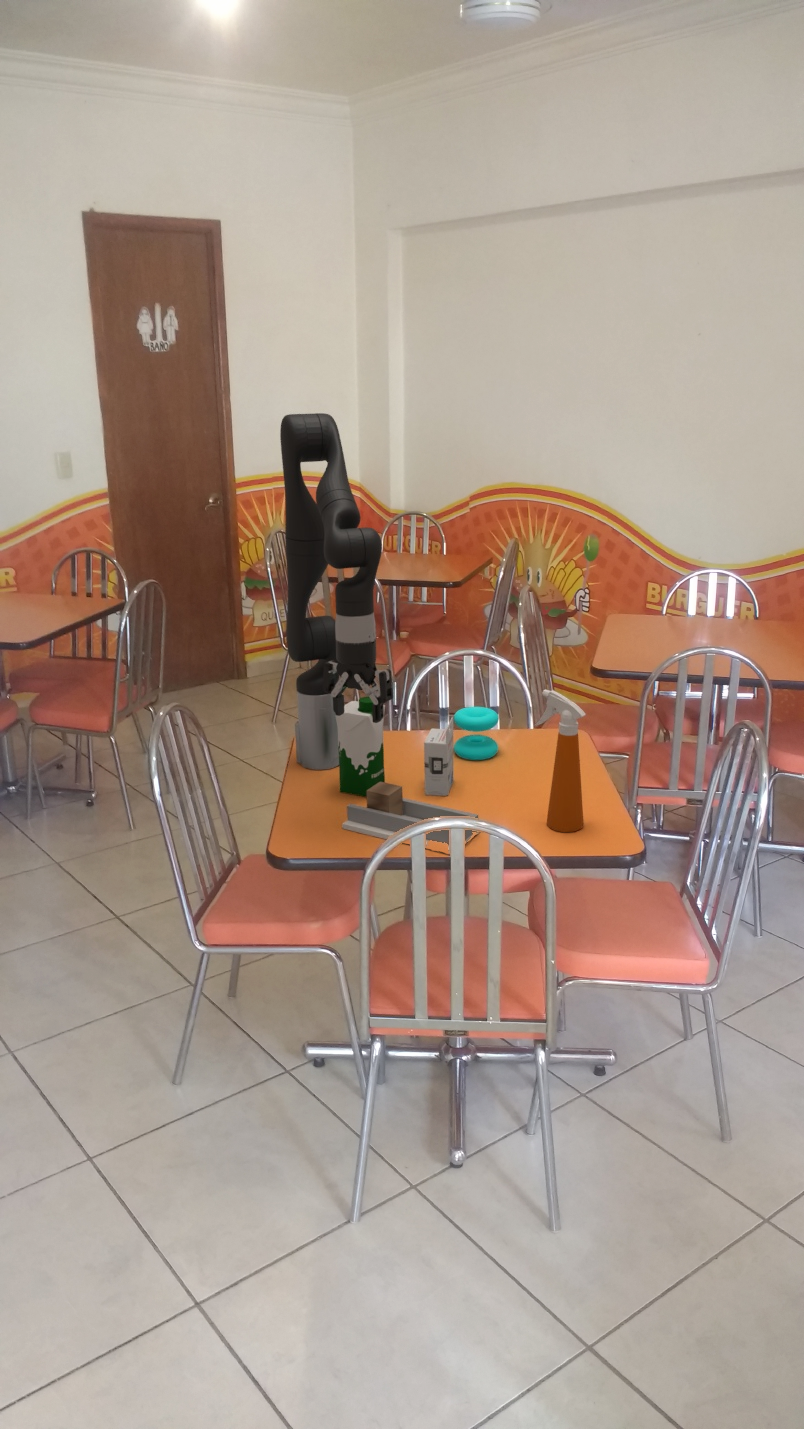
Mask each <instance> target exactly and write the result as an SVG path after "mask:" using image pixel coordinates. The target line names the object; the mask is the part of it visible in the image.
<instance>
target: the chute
mask: <svg viewBox="0 0 804 1429" xmlns="http://www.w3.org/2000/svg"><path fill="white" fill-rule="evenodd" d="M346 815H347V816H346V818H347V820H346V821H344V822H342V823H341V824H342V829H344V830H347V831H350V832H355V833H360V834H363V835H367V836H371V837H375V838H378V839H379V838H380V839H384V840H387V838H388V837H389V836H391V835H393V834H394V833H395V832H397V831H399V830H400V829H403V828H405V827H407V826H409V825H412V824H414V823H417V822H419V821H422V820H424V819H428V818H433V817H440V816H470V817H475V818H478V819H479V814H478V813H477V814H476V813H471V812H468V811H465V810H464V811H463V810H459V809H454V808H449V807H445V806H441V805H436V804H431V803H427V802H423V801H418V800H413V799H410V798H405V797H403V815H402V816H401V815H396V814H392V813H388V812H383V811H379V810H375V809H371V808H367V806H366V807H365V806H362V805H357V804H352V803H349V804H348V805H346ZM472 832H476V833H479V832H477V831H472V830H465V841H466V843H467V841H468V840H469V839H470V838H471V836H472V835H473V833H472ZM479 834H480V833H479ZM430 840H432V841H437V842H442V843H444V842H445V843H447V844H448V851H449V830H441V831H433V832H430V833H428V834H426V846H427V841H430ZM467 844H468V843H467Z"/></svg>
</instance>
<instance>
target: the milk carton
mask: <svg viewBox="0 0 804 1429" xmlns="http://www.w3.org/2000/svg"><path fill="white" fill-rule="evenodd" d="M372 704H374V703H373V702H372V700H371V699H370V697H369V696H363V697H360V698H359V699H358V701H357V700H351V701H349V702H348V703H346V704H344V714H342V715H340V716H337V715H335V716H336V721H337V727H338V749H339V765H338V770H339V772H338V773H339V774H338V775H339V793H343V794H349V795H354V796H359V797H364V798H367V790H368V789H370V788H371V787H373V786H374V785H376V784H377V783H379V782H385V783H386V781H385V778H386V777H385V776H386V775H385V761H384V760H385V758H384V754H385V753H384V719H385V716H384V717H383V719H382V720H381V721H380V722H378V723H373V718H372ZM383 706H384V713H385V710H386V705H385V704H383Z"/></svg>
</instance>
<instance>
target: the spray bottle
mask: <svg viewBox="0 0 804 1429" xmlns="http://www.w3.org/2000/svg"><path fill="white" fill-rule="evenodd" d="M541 694H542V696H543V697H544V698H546V699H547V701H546V703H545V705H546V709H545V711H544V712H543V714H542V716H541V717H540V718H539V719H538V721H537V722H536V723H535V724H534V725H533V726H534V727H536V726H539V725H541V724H544V723H545V722H546V721H548V720H549V719H550V718H551V717H553V716H555V715H556V714H559V715H560V721H559V722H558V734H557V741H556V750H555V757H554V763H553V764H554V765H553V772H552V779H551V785H550V795H549V801H548V808H547V809H548V810H547V816H546V826H547V827H548V828H549V829H551V830H554V831H555V832H560V833H573V832H576V831H580V830H581V829H582V828H584V825H585V824H584V823H585V822H584V812H583V810H584V809H583V794H582V792H583V791H582V776H581V760H580V744H579V743H580V742H579V741H580V740H579V722H578V719H581V718H583V717H585V716H586V713H585V711H584V710H583V709H582V708H581V707H580V706H579V705H578V704H576V703H575V702H573V701H572V700H571V699H569V698H567V697H566V696H564V695H563V694H561V693H560V692H557V691H555V689H552V690H549V689H544V690H542V693H541Z"/></svg>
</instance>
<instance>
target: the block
mask: <svg viewBox="0 0 804 1429" xmlns="http://www.w3.org/2000/svg"><path fill="white" fill-rule="evenodd" d="M403 796H404V795H403V786H402V785H397V784H394V783H388V782H386V781H385V782H379V783H377V784H376V785H374V786H373V787H371V788H370V789H368V790H367V797H366V807H367V808H371V809H375V810H379V811H383V812H388V813H392V814H396V815H401V816H402V815H403V798H404V797H403Z"/></svg>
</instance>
